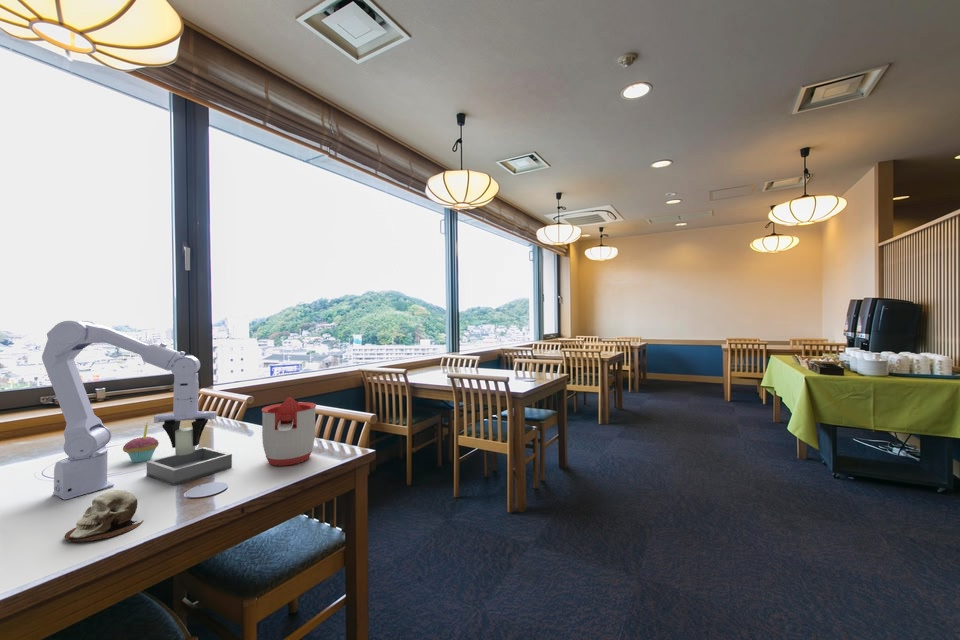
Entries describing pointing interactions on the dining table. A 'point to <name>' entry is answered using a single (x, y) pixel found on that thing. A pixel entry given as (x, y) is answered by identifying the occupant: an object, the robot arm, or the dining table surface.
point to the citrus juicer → (288, 431)
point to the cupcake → (141, 447)
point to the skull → (106, 517)
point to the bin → (188, 465)
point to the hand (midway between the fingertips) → (185, 445)
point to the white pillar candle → (184, 441)
